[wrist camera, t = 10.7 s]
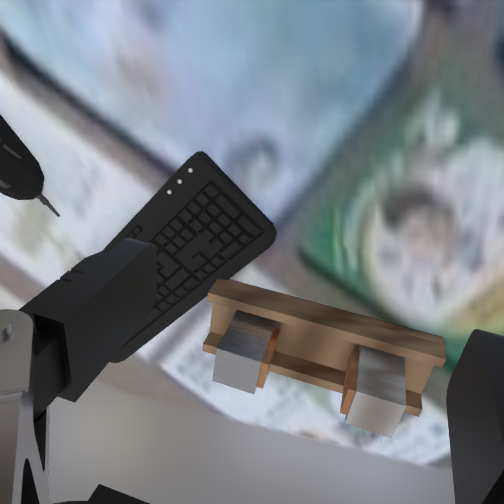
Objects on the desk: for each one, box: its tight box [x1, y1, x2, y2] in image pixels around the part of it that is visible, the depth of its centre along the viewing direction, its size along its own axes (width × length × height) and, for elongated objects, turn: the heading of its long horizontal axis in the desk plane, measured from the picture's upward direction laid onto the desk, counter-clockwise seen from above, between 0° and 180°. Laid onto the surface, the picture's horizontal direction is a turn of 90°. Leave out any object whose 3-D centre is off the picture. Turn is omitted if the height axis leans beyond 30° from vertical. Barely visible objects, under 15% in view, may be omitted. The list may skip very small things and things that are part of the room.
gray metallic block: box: [212, 310, 281, 394], centre depth 42 cm, size 4×5×7 cm
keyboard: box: [103, 151, 277, 363], centre depth 47 cm, size 30×11×2 cm, turn 135°
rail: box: [203, 279, 446, 438], centre depth 42 cm, size 22×8×8 cm, turn 82°
